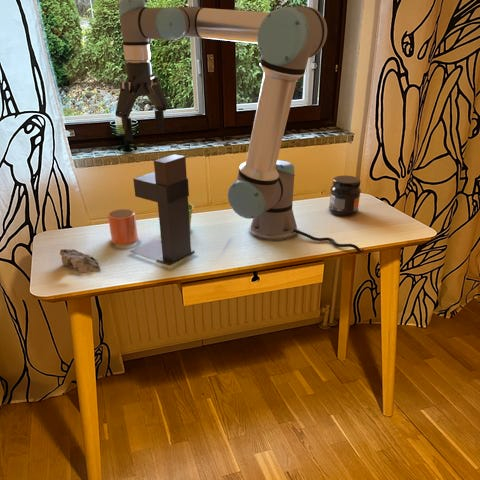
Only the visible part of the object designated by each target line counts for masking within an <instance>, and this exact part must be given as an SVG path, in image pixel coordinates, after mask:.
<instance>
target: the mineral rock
mask: <svg viewBox="0 0 480 480" xmlns="http://www.w3.org/2000/svg"><path fill="white" fill-rule="evenodd" d="M59 255H60V256H61V263H62V265H63V266H67V268H69V270H75V271H77V272H78V273H80V274H81V273H93V272H100V271H101V267H100V265H99V262H98V261H97V259H95V257H93V256H91V255H89V254H85V253H83V252H80V251H79V250H76V249H74V248H73V249H70V248H64V249H60V252H59Z"/></svg>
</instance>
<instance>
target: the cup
mask: <svg viewBox="0 0 480 480" xmlns="http://www.w3.org/2000/svg"><path fill="white" fill-rule="evenodd" d="M107 219H108V227H109V232H110V239H111V243H112V244H114V245H119V246H127V245H131V244H134V243H136V242H137V241H138V240H139V236H138V234H139V233H138V227H137V219H136V212H135V211H134V210H133V209H129V208H119V209H114V210H111V211H109V212H108V213H107Z"/></svg>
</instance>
